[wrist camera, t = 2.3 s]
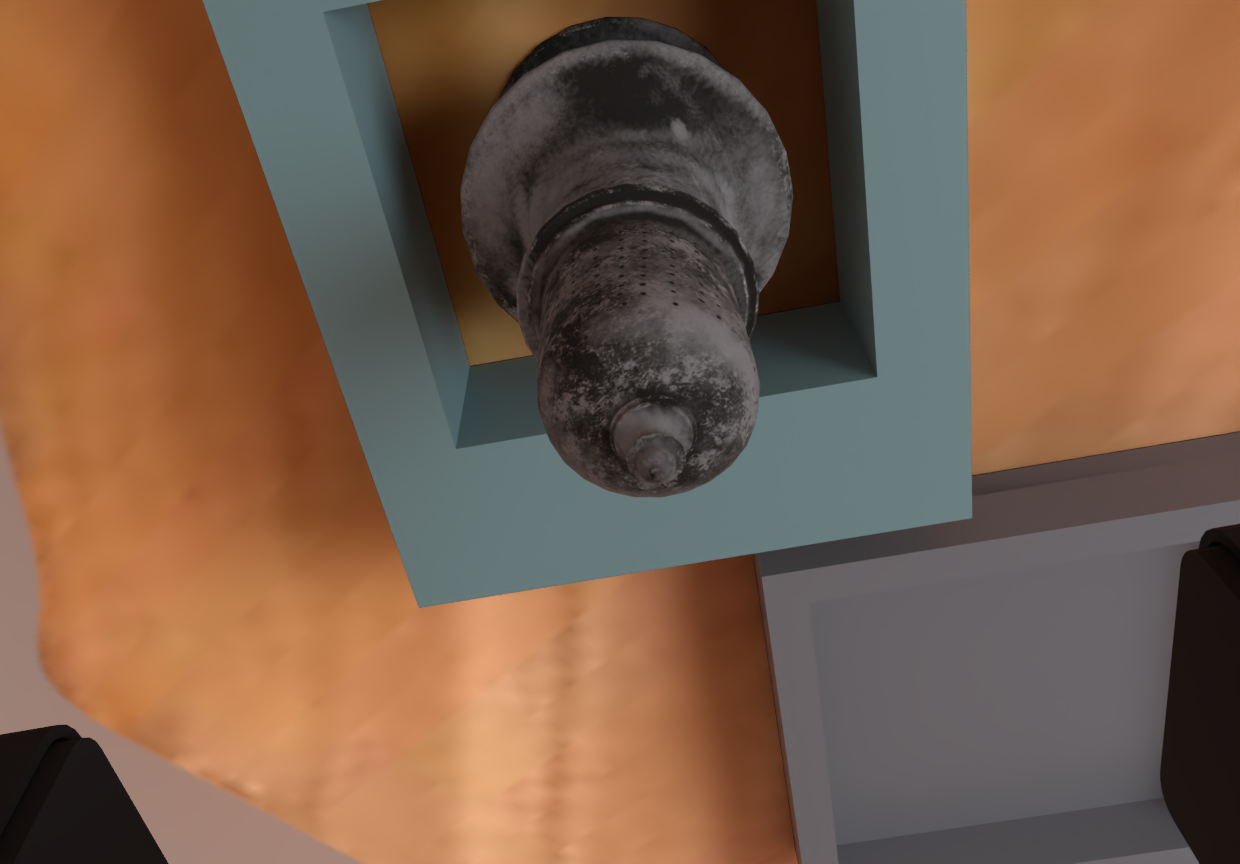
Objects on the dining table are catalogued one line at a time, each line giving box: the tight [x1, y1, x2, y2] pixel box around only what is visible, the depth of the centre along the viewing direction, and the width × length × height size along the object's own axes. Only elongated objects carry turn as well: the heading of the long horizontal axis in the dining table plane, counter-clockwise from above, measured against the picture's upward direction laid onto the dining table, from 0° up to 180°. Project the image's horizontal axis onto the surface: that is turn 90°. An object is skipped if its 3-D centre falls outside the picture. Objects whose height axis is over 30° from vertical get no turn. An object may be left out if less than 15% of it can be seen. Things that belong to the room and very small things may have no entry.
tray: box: [753, 432, 1240, 864], centre depth 29 cm, size 13×13×2 cm
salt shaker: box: [460, 17, 793, 498], centre depth 17 cm, size 6×6×12 cm
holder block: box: [202, 0, 972, 608], centre depth 21 cm, size 16×12×4 cm
